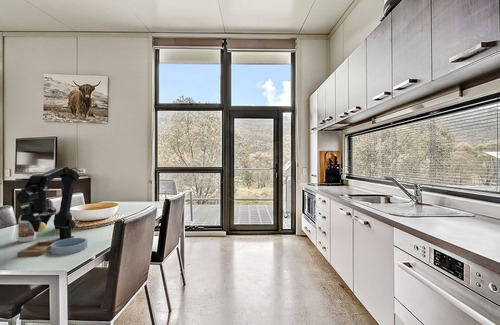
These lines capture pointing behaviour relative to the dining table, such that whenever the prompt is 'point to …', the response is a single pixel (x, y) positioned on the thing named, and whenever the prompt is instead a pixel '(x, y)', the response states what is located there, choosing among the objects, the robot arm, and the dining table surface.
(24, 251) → the tray
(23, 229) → the milk bottle
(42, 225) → the ball
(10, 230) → the dining table surface
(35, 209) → the robot arm
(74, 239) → the bowl
